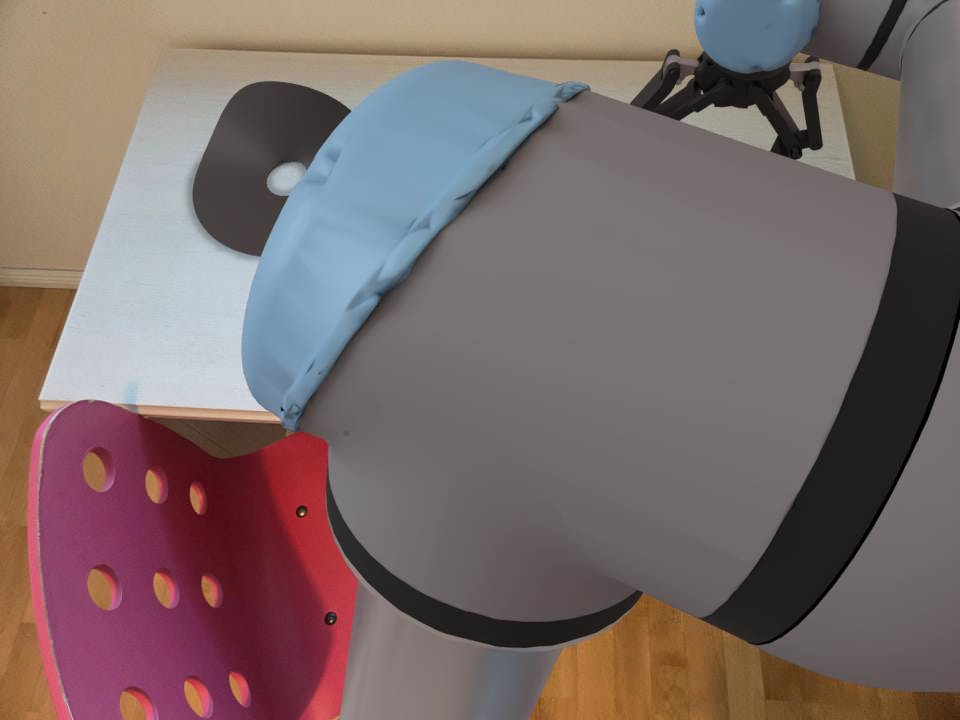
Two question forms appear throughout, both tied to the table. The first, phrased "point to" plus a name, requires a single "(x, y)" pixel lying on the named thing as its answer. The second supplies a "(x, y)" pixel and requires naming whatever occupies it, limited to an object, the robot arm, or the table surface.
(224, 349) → the table surface
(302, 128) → the dark holed disc
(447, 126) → the robot arm
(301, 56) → the table surface
